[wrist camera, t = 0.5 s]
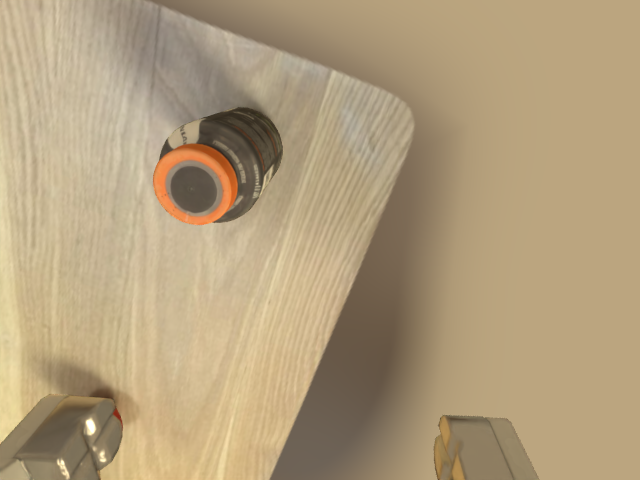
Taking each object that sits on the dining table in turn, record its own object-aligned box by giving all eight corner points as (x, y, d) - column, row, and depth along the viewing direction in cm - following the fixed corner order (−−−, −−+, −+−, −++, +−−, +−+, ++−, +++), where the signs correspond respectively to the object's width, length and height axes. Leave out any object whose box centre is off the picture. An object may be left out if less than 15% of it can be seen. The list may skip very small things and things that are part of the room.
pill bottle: (199, 111, 27) (113, 133, 17) (277, 102, 27) (236, 118, 16) (218, 188, 30) (152, 247, 19) (289, 181, 29) (260, 238, 19)
